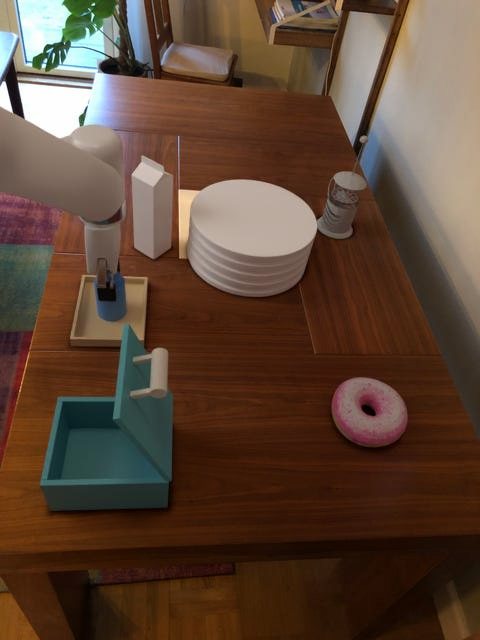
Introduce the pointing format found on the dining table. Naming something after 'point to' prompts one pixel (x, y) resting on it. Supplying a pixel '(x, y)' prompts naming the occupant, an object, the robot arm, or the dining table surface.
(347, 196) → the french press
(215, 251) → the plate stack
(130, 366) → the lid
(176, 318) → the dining table surface
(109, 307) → the bottle
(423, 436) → the dining table surface
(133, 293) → the tray
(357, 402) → the donut
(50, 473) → the teal wooden box
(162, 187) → the milk
